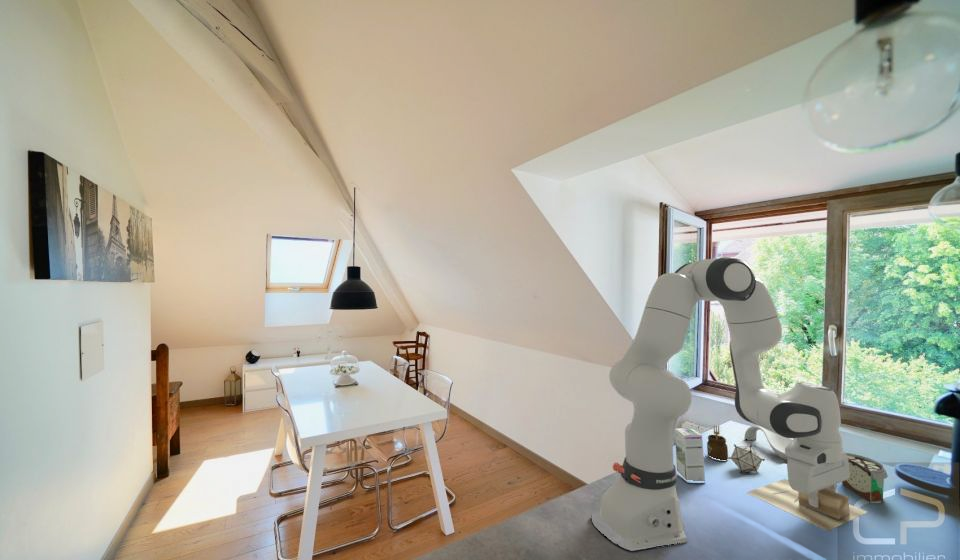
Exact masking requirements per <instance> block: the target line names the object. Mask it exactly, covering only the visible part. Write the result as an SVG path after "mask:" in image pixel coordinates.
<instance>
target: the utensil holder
mask: <svg viewBox="0 0 960 560" xmlns="http://www.w3.org/2000/svg"><path fill="white" fill-rule="evenodd" d="M721 429H722V427H721V425H720V424H718V425H713V431H712V433H713V434H709V435H708V436H707V443H706V447H707V449H706V450H707V456H708V455H709V456H711V457H713V458H716V459H720V460H727V459H728V457H729V450H728V444H727V439H726V438H725V437H724V436H722V435H721V432H720V430H721ZM709 456H708V457H709ZM727 461H728V460H727Z"/></svg>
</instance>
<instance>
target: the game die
mask: <svg viewBox="0 0 960 560" xmlns="http://www.w3.org/2000/svg"><path fill="white" fill-rule="evenodd" d="M733 446H734V450H733V452H732V454H731V456H728V459H729V460H732V462H733V463H734V464H735V466H736V467H738V469H739V470H740V471H739V473H740V474H743V472H751V473H758V470H759V468H760V466H761V463H762V461H763V462H765V461H766V459H765V458H762V457H760V456H759V454H757V452H756V451H755V450H754V449H753V448H752V446H753V445H752V444H750V445H749V446H737V445H736V444H733Z"/></svg>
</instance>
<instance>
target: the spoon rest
mask: <svg viewBox="0 0 960 560" xmlns="http://www.w3.org/2000/svg"><path fill="white" fill-rule="evenodd" d="M759 430H760V431H761V432H763V434H764V436H765V438H766V440H767V442H768V444H769V446H770V447H771V449H772V451H773V452H774V453H775V454H776V455H777V456H778V457H779V458H781V459H782V460H783V461H784V460H785V462H787V461H788V458H789V456H786V454H785V448H786V447H787V446H788V445H789V444H790V443H791V442H792V440H793V438H786V437H782V436H780V435H777V434H775V433H773V432H771V431H769V430H767V429H765V428H763V427H761V426H759V425H752V426H750V427H748V428H747V429H746V431H745V433H744V437H743V438H744V440H745V439H747V440H746V441H752V440H753V441H754V440H755V439H756V440H757V434H758V433H757V432H758V431H759ZM756 440H755V441H756Z"/></svg>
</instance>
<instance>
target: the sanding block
mask: <svg viewBox="0 0 960 560" xmlns="http://www.w3.org/2000/svg"><path fill="white" fill-rule="evenodd" d="M798 496H799V504H801V505H803V506H805V507H808V508H810V509H812V510H814V511H817V512H819V513H821V514H824V515H826V516H828V517H830V518H833V519H835V520H837V521H840V520H842V519H844V518H846V517H848V516H850V512H849V504H850V501H849V499H850V497H849V496H846V495H844V494H841V493H838V492H837V491H836V492H834V491H831V490H828V489H826V488H825V489H822V490H819V491H818V494H817V497H818V499H820V502H821V503H820V504H821V506H819V507H817V508H816V507H813V506H811V505H810V504H809V499H808V496H807V495H805V494H802V493H800V492H798Z"/></svg>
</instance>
